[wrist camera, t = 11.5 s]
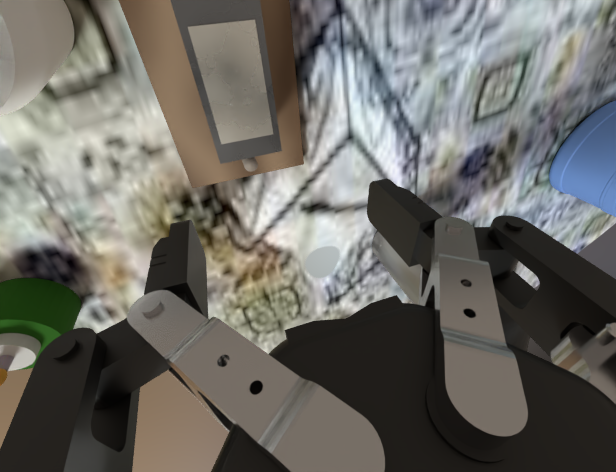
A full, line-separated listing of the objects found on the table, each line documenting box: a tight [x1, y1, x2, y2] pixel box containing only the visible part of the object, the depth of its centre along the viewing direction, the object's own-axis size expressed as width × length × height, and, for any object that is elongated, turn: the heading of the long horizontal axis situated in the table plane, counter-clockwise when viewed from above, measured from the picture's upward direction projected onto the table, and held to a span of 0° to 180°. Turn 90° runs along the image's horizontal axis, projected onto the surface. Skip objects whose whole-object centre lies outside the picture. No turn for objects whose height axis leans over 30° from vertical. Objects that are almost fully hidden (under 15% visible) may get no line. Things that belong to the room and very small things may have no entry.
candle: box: [0, 278, 81, 386], centre depth 28 cm, size 8×8×10 cm
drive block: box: [170, 0, 282, 164], centre depth 21 cm, size 5×10×6 cm, turn 5°
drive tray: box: [119, 0, 304, 188], centre depth 22 cm, size 12×19×5 cm, turn 4°
